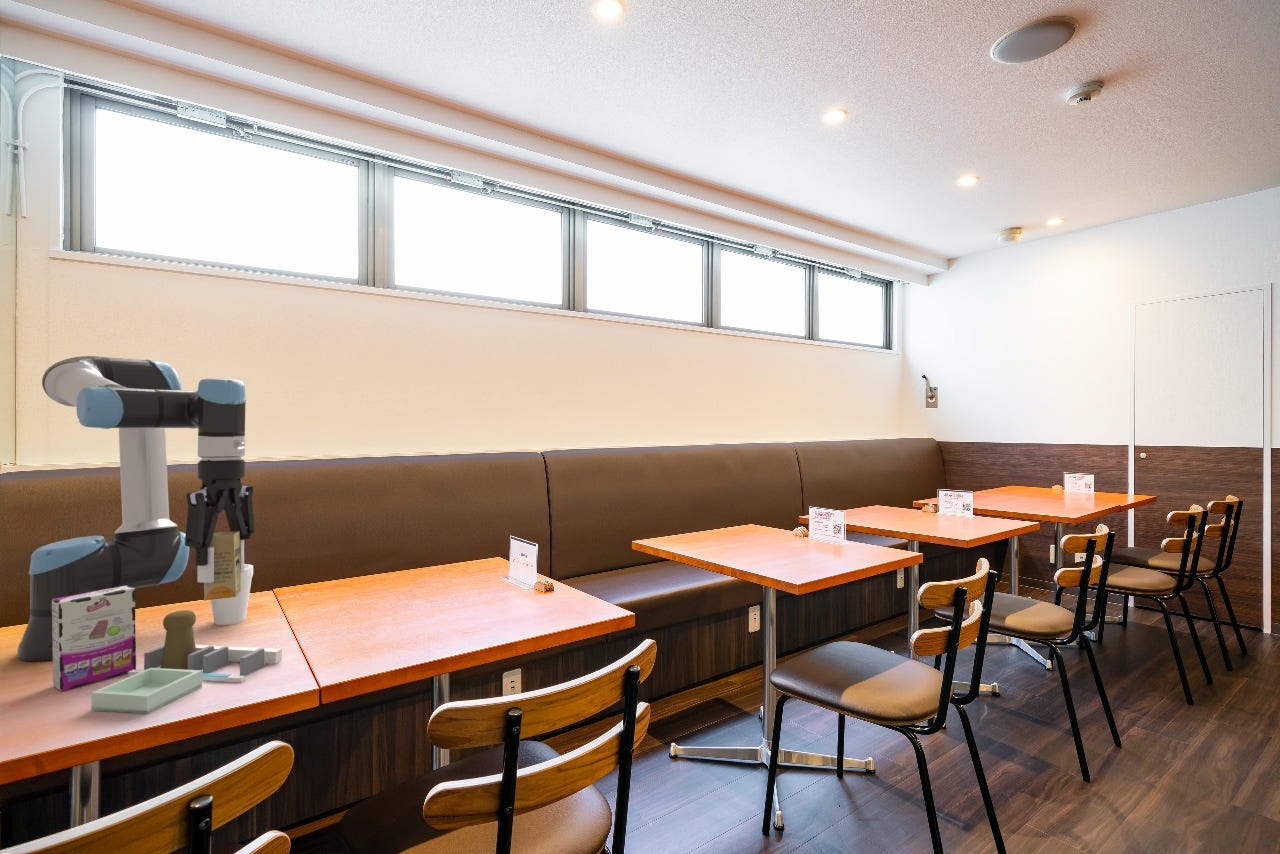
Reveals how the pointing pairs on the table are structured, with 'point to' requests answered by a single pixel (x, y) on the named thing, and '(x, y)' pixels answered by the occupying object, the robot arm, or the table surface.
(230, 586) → the shoe polish box
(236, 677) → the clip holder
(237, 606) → the foam cup
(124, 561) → the robot arm
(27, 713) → the table surface
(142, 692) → the tray
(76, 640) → the candy bar box
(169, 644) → the cork
